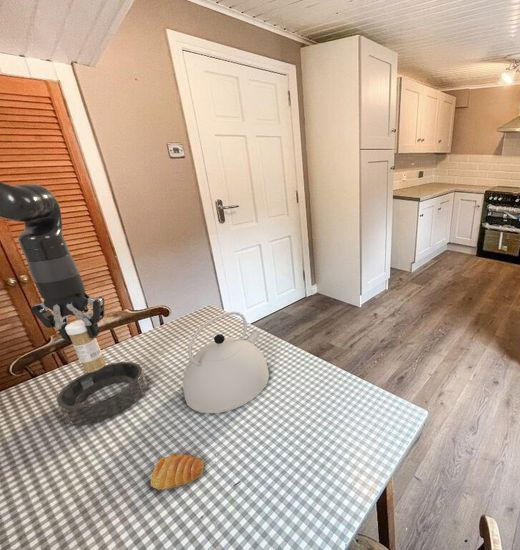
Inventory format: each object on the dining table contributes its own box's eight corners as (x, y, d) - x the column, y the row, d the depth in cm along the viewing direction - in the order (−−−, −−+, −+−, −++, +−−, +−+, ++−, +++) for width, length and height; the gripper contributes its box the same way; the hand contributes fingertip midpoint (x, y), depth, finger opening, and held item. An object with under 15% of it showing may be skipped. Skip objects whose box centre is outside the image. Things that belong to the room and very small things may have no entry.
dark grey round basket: (48, 433, 74) (38, 414, 71) (90, 383, 89) (83, 367, 87) (131, 418, 78) (124, 400, 75) (157, 373, 93) (151, 357, 91)
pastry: (210, 458, 67) (206, 446, 66) (197, 490, 61) (192, 477, 60) (166, 462, 67) (161, 450, 65) (148, 494, 60) (142, 481, 59)
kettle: (240, 349, 105) (228, 290, 97) (290, 369, 95) (282, 305, 87) (167, 396, 85) (145, 327, 76) (222, 428, 75) (203, 353, 66)
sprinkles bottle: (101, 360, 82) (84, 317, 77) (109, 365, 80) (92, 321, 75) (80, 370, 79) (61, 325, 73) (88, 375, 76) (68, 330, 71)
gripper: (101, 266, 74) (122, 326, 81) (30, 272, 71) (58, 333, 78) (83, 278, 68) (108, 342, 74) (4, 284, 64) (37, 351, 71)
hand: (82, 337), depth 76 cm, fingers closed on sprinkles bottle, 4 cm apart
